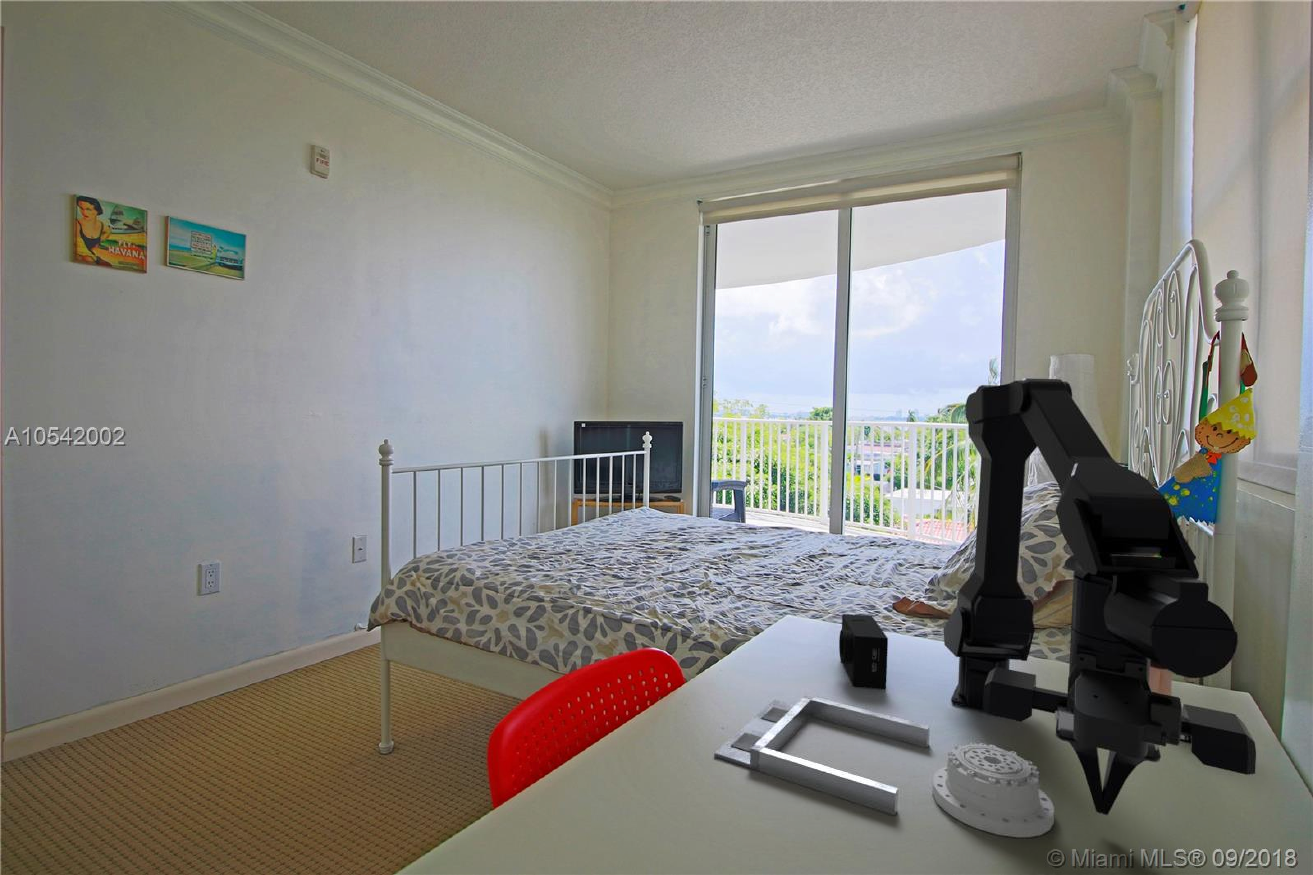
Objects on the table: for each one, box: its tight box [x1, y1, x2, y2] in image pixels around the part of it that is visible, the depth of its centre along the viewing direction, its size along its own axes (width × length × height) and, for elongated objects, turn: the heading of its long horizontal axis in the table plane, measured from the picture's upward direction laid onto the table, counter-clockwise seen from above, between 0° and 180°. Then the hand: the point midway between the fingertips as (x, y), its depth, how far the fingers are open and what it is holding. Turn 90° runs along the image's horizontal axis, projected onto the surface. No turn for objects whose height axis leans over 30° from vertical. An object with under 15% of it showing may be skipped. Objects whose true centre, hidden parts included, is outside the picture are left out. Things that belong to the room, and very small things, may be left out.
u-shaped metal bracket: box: [713, 694, 930, 816], centre depth 71 cm, size 16×18×2 cm
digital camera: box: [838, 613, 889, 690], centre depth 93 cm, size 10×5×7 cm, turn 173°
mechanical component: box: [931, 742, 1055, 838], centre depth 62 cm, size 10×4×10 cm
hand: (1101, 811), depth 58 cm, fingers closed
